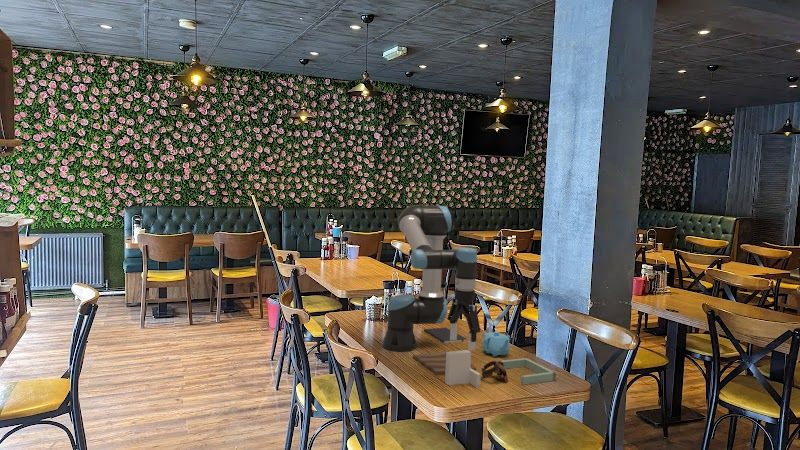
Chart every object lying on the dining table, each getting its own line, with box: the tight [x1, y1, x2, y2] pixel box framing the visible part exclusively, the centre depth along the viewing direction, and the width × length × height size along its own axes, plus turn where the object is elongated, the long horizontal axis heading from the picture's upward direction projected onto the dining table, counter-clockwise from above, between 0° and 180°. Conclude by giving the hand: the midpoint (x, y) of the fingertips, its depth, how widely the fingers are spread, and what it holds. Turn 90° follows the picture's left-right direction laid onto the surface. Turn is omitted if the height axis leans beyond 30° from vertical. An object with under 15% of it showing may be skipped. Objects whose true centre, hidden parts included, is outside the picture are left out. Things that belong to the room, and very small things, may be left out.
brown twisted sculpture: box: [480, 360, 509, 384], centre depth 220 cm, size 12×10×8 cm
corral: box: [496, 357, 557, 386], centre depth 226 cm, size 19×16×3 cm
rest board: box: [412, 351, 477, 376], centre depth 235 cm, size 22×18×1 cm
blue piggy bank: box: [481, 331, 511, 358], centre depth 251 cm, size 18×14×10 cm
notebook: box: [423, 327, 467, 344], centre depth 277 cm, size 13×2×21 cm
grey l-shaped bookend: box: [444, 349, 482, 388], centre depth 213 cm, size 13×10×12 cm
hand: (462, 344), depth 213 cm, fingers open, 13 cm apart
